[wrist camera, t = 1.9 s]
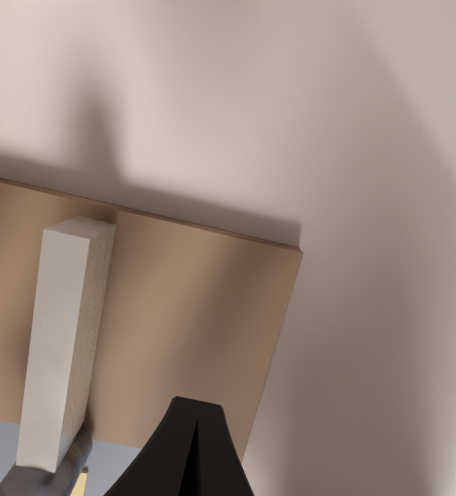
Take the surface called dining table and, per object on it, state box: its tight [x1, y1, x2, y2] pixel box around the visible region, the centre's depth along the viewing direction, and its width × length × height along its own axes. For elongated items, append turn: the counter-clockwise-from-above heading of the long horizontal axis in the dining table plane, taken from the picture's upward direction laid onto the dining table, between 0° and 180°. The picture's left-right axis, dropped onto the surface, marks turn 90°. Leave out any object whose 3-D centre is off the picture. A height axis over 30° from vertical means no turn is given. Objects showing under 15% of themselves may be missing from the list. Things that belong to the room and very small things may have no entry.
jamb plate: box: [0, 178, 303, 463], centre depth 18 cm, size 18×12×1 cm, turn 77°
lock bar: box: [0, 216, 117, 496], centre depth 15 cm, size 13×3×3 cm, turn 167°
